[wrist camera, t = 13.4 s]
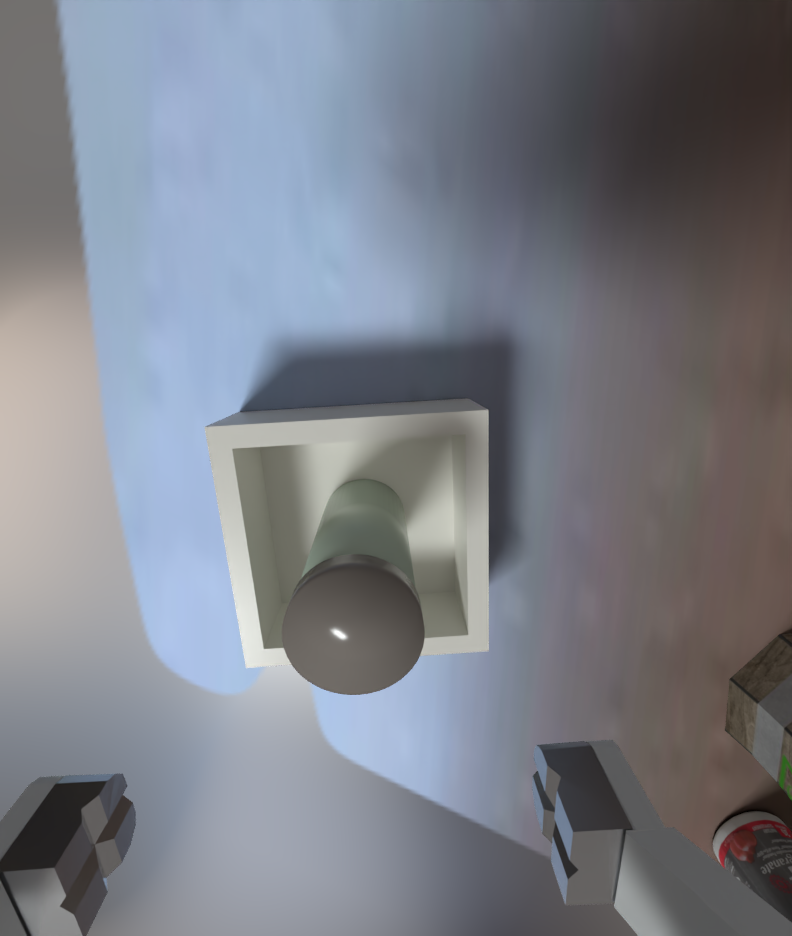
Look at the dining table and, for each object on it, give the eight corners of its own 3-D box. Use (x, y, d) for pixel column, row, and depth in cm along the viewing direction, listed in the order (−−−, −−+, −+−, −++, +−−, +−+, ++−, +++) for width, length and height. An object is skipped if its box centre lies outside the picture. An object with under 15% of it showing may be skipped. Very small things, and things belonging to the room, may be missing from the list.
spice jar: (318, 479, 23) (272, 577, 14) (404, 474, 23) (421, 566, 14) (326, 558, 25) (291, 699, 15) (408, 552, 25) (427, 689, 15)
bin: (238, 411, 23) (204, 426, 18) (467, 398, 23) (488, 409, 19) (269, 613, 26) (246, 667, 22) (470, 600, 26) (488, 651, 22)
